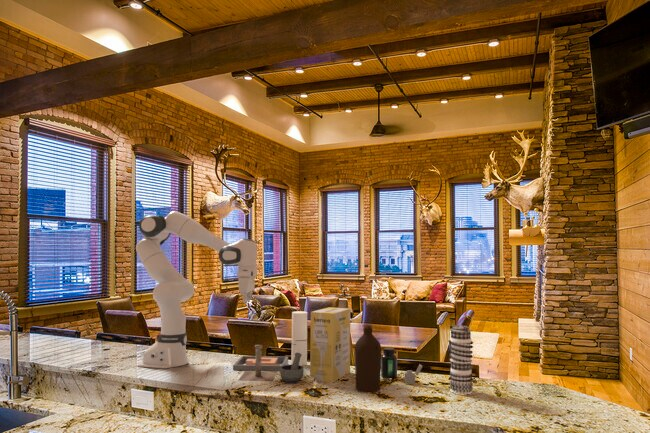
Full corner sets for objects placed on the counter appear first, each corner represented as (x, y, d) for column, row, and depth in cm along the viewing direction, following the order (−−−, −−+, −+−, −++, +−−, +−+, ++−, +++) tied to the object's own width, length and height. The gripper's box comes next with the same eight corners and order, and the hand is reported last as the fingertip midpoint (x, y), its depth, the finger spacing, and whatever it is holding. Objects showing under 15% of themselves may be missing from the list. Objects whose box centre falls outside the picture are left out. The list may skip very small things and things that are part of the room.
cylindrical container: (304, 369, 214) (305, 313, 215) (289, 368, 215) (290, 313, 217) (308, 365, 221) (308, 311, 222) (293, 364, 222) (294, 311, 224)
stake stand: (237, 384, 190) (238, 348, 191) (244, 374, 204) (245, 341, 205) (272, 384, 189) (272, 349, 190) (277, 375, 203) (277, 342, 204)
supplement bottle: (393, 380, 198) (393, 350, 199) (378, 377, 201) (378, 349, 202) (399, 376, 204) (399, 348, 204) (384, 374, 207) (384, 346, 208)
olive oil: (384, 387, 188) (384, 323, 189) (376, 394, 178) (376, 327, 179) (359, 383, 192) (359, 321, 193) (350, 391, 182) (350, 325, 184)
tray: (232, 373, 206) (233, 365, 206) (241, 363, 224) (241, 355, 224) (283, 374, 205) (283, 366, 206) (287, 364, 223) (288, 356, 223)
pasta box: (328, 369, 214) (329, 307, 216) (350, 372, 209) (350, 308, 211) (310, 379, 198) (310, 311, 199) (332, 382, 193) (333, 313, 195)
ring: (244, 369, 210) (244, 362, 210) (248, 363, 220) (248, 357, 220) (274, 369, 210) (274, 363, 210) (277, 364, 219) (277, 357, 220)
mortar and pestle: (295, 390, 183) (295, 358, 184) (274, 386, 187) (275, 355, 188) (309, 382, 193) (309, 352, 194) (289, 379, 197) (290, 350, 198)
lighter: (404, 384, 192) (404, 364, 193) (404, 382, 194) (404, 363, 194) (422, 385, 190) (422, 365, 191) (422, 384, 192) (422, 364, 193)
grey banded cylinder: (470, 396, 176) (470, 328, 178) (446, 392, 181) (445, 326, 182) (476, 390, 184) (475, 325, 186) (452, 386, 189) (451, 323, 190)
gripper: (245, 271, 238) (245, 298, 237) (236, 273, 218) (235, 303, 217) (257, 271, 238) (257, 298, 237) (249, 273, 218) (249, 303, 217)
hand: (247, 301), depth 227 cm, fingers open, 8 cm apart
